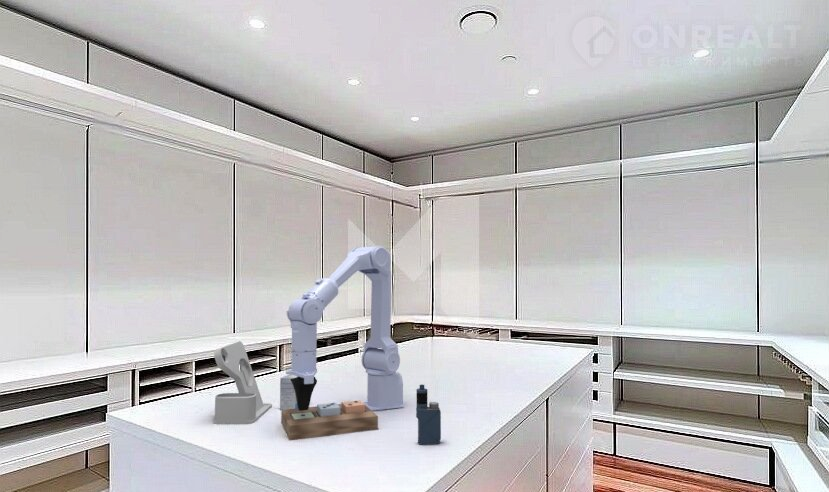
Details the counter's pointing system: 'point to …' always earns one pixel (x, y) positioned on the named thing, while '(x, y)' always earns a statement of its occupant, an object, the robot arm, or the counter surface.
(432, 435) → the vaping device
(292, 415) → the tile
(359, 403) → the tile
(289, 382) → the medicine box
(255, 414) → the phone holder
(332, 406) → the tile
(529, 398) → the counter surface
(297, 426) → the block tray
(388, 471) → the counter surface
